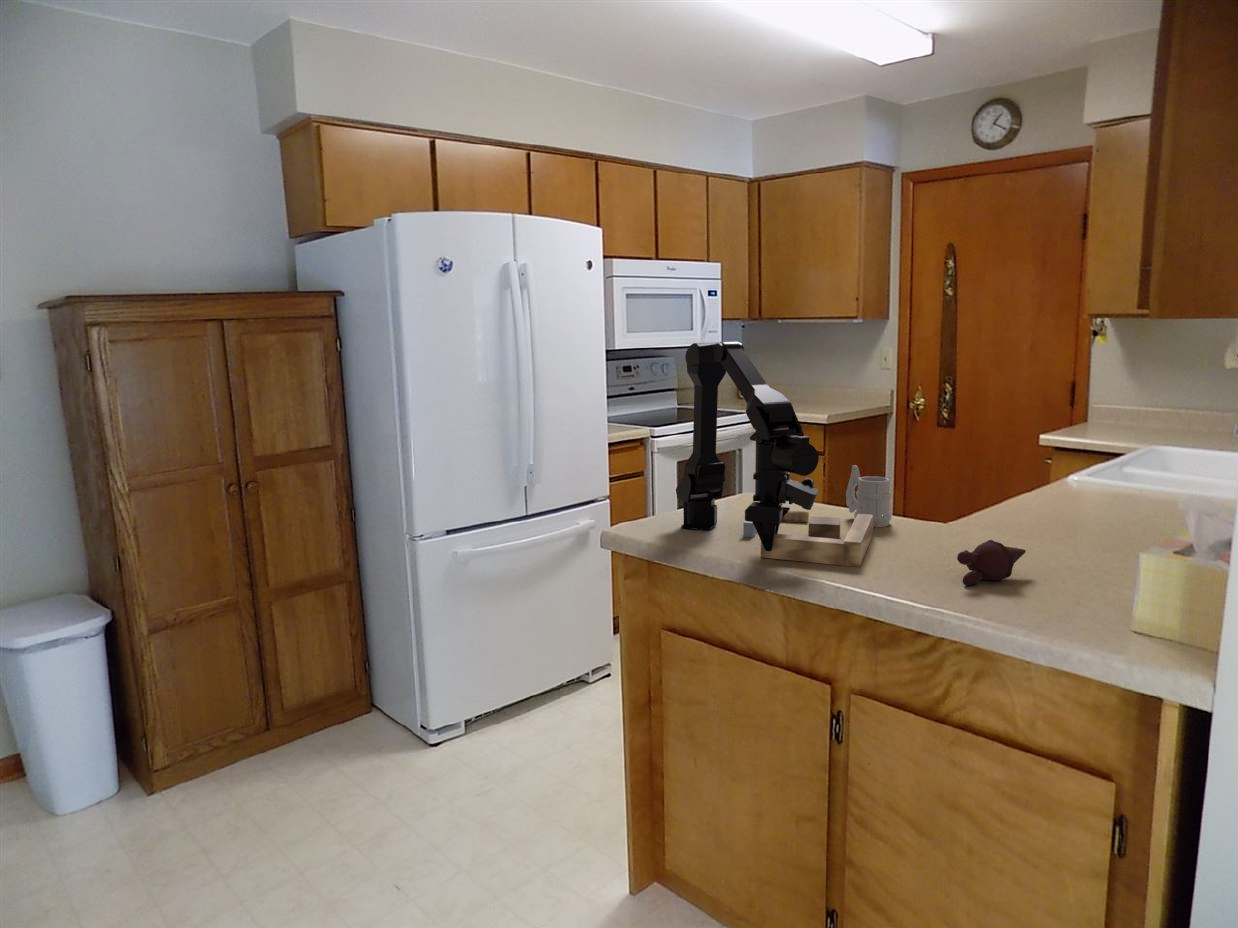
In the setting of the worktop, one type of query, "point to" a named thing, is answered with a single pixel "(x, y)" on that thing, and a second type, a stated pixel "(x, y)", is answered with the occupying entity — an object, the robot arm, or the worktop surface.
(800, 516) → the dowel
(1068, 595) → the worktop surface
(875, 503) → the mug
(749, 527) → the stop batten
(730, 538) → the worktop surface
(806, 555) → the wooden l-shaped bracket
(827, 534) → the block
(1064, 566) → the worktop surface
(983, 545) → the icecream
